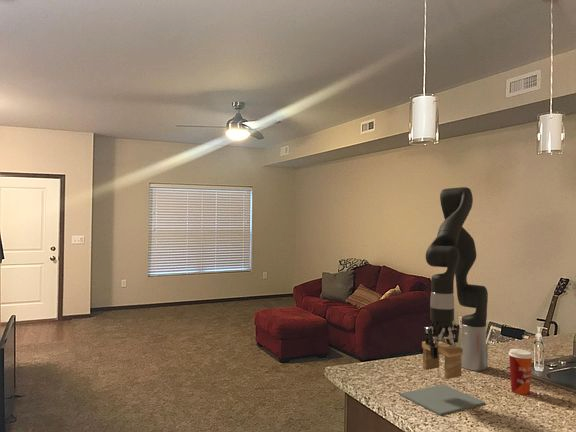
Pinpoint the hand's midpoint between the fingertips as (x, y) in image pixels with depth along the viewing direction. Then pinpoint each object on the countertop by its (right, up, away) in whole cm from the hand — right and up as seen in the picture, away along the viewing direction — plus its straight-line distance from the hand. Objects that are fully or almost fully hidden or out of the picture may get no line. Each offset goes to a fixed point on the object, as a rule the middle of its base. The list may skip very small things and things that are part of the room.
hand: (441, 356), depth 152 cm
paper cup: (+30, -15, +7) cm, 34 cm away
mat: (0, -14, 0) cm, 14 cm away
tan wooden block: (0, -5, 0) cm, 5 cm away
